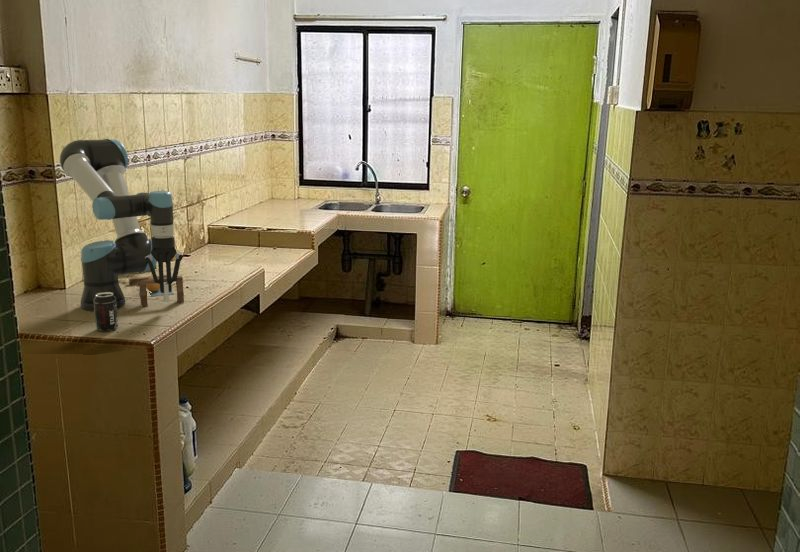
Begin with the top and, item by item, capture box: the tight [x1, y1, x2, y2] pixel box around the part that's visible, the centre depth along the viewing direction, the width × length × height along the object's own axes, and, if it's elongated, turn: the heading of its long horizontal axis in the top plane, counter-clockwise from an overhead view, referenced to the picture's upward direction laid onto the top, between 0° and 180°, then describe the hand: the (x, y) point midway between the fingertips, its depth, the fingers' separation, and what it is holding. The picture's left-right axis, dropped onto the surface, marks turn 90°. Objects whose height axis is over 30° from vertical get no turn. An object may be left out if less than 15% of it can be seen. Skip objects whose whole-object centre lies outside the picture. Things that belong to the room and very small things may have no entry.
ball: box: [146, 276, 160, 292], centre depth 277 cm, size 6×6×6 cm
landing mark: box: [137, 288, 175, 297], centre depth 277 cm, size 12×12×1 cm
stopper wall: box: [128, 274, 167, 286], centre depth 291 cm, size 16×2×2 cm, turn 117°
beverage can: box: [93, 292, 119, 332], centre depth 230 cm, size 7×7×12 cm
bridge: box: [138, 275, 185, 307], centre depth 260 cm, size 3×15×10 cm, turn 117°
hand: (166, 301), depth 250 cm, fingers closed
